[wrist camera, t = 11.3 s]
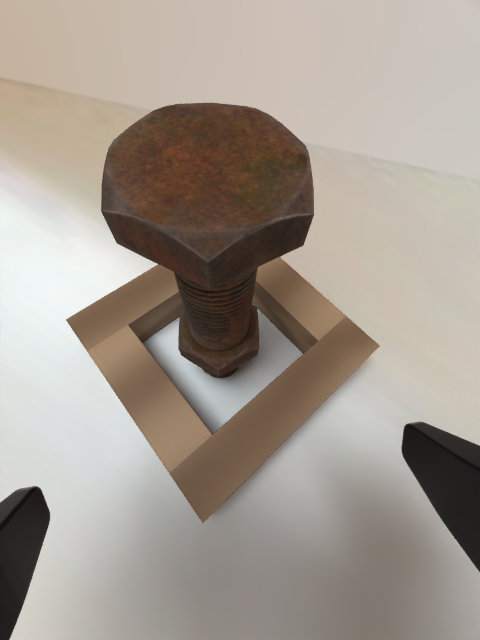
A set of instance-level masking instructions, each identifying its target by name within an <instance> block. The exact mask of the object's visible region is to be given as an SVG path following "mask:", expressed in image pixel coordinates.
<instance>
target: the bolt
mask: <svg viewBox="0 0 480 640" xmlns="http://www.w3.org/2000/svg"><path fill="white" fill-rule="evenodd" d="M101 212H102V214H103V216H104V218H105V220H106V222H107V224H108V226H109V228H110V230H111V232H112V234H113V236H114V238H115V240H116V242H117V244H119V245H121V246H123V247H125V248H127V249H129V250H131V251H133V252H135V253H137V254H139V255H141V256H143V257H145V258H147V259H149V260H151V261H153V262H155V263H157V264H159V265H161V266H163V267H165V268H167V269H169V270H171V271H173V272H174V275H175V279H176V282H177V286H178V290H179V293H180V297H181V299H182V304H183V307H182V309H181V314H180V322H179V351H180V353H181V355H182V356H183V357H185V358H186V359H188V360H189V361H191V362H192V363H194V364H196V365H197V366H199V367H201V368H202V369H203V370H204V371H205V372H206V373H209V374H210V375H211V376H213V377H218V378H224V377H228V376H230V375H231V374H233V373H234V372H235V371H236V370H237V369H238V368H239V366H241V365H242V364H244V363H246V362H247V361H249V360H250V359H252V358H253V357H254V356H256V355H257V353H258V349H259V326H258V313H257V307H255V306H254V305H253V304H252V299H253V295H254V289H255V283H256V276H257V270H258V267H259V266H261V265H263V264H265V263H268V262H270V261H272V260H274V259H276V258H278V257H280V256H282V255H284V254H286V253H288V252H290V251H293V250H295V249H297V248H299V247H301V246H303V245H304V242H305V239H306V236H307V233H308V230H309V227H310V225H311V222H312V219H313V216H314V188H313V179H312V171H311V164H310V158H309V153H308V150H307V148H306V146H305V145H304V144H303V143H302V142H301V141H300V140H299V139H298V138H297V137H296V136H295V135H294V134H293V133H292V132H291V131H289V130H288V129H287V128H286V127H285V126H284V125H283V124H282V123H280V122H279V121H277V120H276V119H274V118H273V117H272V116H270V115H269V114H267V113H264V112H262V111H260V110H258V109H256V108H251V107H247V106H238V105H228V104H218V103H195V104H194V103H193V104H175V105H170V106H165V107H162V108H159V109H157V110H154V111H152V112H151V113H149V114H148V115H146V116H144V117H143V118H141V119H140V120H138V121H137V122H136V123H134V124H133V125H131V126H130V127H129V128H128V129H126V130H125V131H124V132H123V133H122V134H121V135H119V136H118V137H117V138H116V139H115V140H114V141H113V142H112V144H111V145H110V147H109V149H108V152H107V156H106V160H105V165H104V172H103V179H102V201H101Z"/></svg>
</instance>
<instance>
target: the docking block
mask: <svg viewBox="0 0 480 640" xmlns="http://www.w3.org/2000/svg"><path fill="white" fill-rule="evenodd" d="M252 303H253V304H254V305H255V306H256V307H257V308H258V309H259V310H260V311H261V312H262V313H263V314H264V315H265V316H266V317H267V318H268V319H269V320H270V321H271V322H272V323H273V324H274V325H275V326H276V327H277V328H278V329H279V330H280V331H281V332H282V333H283V334H284V335H285V336H286V337H287V338H288V339H289V340H290V341H291V342H292V343H293V344H294V345H295V346H296V347H297V348H298V349H299V350H300V351H301V352H302V353H303V355H302V356H301V357H300V358H299V359H297V360H296V361H295V362H294V363H293V364H292V365H291V366H289V367H288V368H287V369H286V370H285V371H284V372H283V373H282V374H280V375H279V376H278V377H277V378H276V379H275V380H274V381H273V382H271V383H270V384H269V385H268V386H267V387H266V388H265V389H264V390H262V391H261V392H260V393H259V394H258V395H257V396H256V397H255V398H253V399H252V400H251V401H250V402H249V403H248V404H247V405H246V406H244V407H243V408H242V409H241V410H240V411H239V412H238V413H237V414H235V415H234V416H233V417H232V418H231V419H230V420H229V421H228V422H226V423H225V424H224V425H223V426H222V427H221V428H220V429H219V430H217V431H216V432H215V433H214V434H213V435H212V434H211V433H210V431H209V430H208V429H207V427H206V426H205V425H204V424H203V422H202V421H201V420H200V418H199V417H198V416H197V414H196V413H195V412H194V410H193V409H192V408H191V407H190V405H189V404H188V403H187V401H186V400H185V399H184V397H183V396H182V395H181V394H180V392H179V391H178V390H177V388H176V387H175V386H174V384H173V383H172V382H171V380H170V379H169V378H168V377H167V375H166V374H165V373H164V371H163V370H162V369H161V367H160V366H159V365H158V363H157V362H156V361H155V360H154V358H153V357H152V356H151V354H150V353H149V352H148V350H147V349H146V348H145V347H144V345H143V344H142V343H141V342H143V341H144V340H146V339H147V338H149V337H150V336H152V335H153V334H155V333H156V332H157V331H159V330H160V329H162V328H163V327H165V326H166V325H168V324H169V323H171V322H172V321H173V320H175V319H176V318H178V317H179V316H180V314H181V309H182V307H183V304H182V299H181V297H180V293H179V290H178V286H177V282H176V279H175V275H174V272H173V271H171V270H169V269H167V268H165V267H163V266H161V265H159V264H158V265H157V266H155V267H153V268H152V269H150V270H148V271H147V272H145V273H143V274H142V275H140V276H138V277H137V278H135V279H133V280H132V281H130V282H128V283H127V284H125V285H123V286H121V287H120V288H118V289H116V290H115V291H113V292H111V293H110V294H108V295H106V296H105V297H103V298H101V299H100V300H98V301H96V302H95V303H93V304H91V305H90V306H88V307H86V308H85V309H83V310H81V311H80V312H78V313H76V314H75V315H73V316H71V317H70V318H68V319H66V321H67V322H68V323H69V325H70V326H71V328H72V329H73V331H74V332H75V334H76V335H77V337H78V338H79V340H80V341H81V343H82V344H83V346H84V347H85V349H86V350H87V352H88V353H89V355H90V356H91V358H92V359H93V361H94V362H95V364H96V365H97V367H98V368H99V370H100V371H101V373H102V374H103V376H104V377H105V378H106V380H107V381H108V383H109V384H110V386H111V387H112V389H113V390H114V392H115V393H116V395H117V396H118V398H119V399H120V401H121V402H122V404H123V405H124V407H125V408H126V410H127V411H128V413H129V414H130V416H131V417H132V419H133V420H134V422H135V423H136V425H137V426H138V428H139V429H140V430H141V432H142V433H143V435H144V436H145V438H146V439H147V441H148V442H149V444H150V445H151V447H152V448H153V450H154V451H155V453H156V454H157V456H158V457H159V459H160V460H161V462H162V463H163V465H164V466H165V468H166V469H167V471H168V472H169V474H170V475H171V477H172V478H173V480H174V481H175V483H176V484H177V485H178V487H179V488H180V490H181V491H182V493H183V494H184V496H185V497H186V499H187V500H188V502H189V503H190V505H191V506H192V508H193V509H194V511H195V512H196V514H197V515H198V517H199V518H200V520H201V521H202V523H203V522H204V521H205V520H206V519H207V518H208V517H209V516H210V515H211V514H212V513H213V512H214V511H215V510H216V509H217V508H218V507H219V506H220V505H221V504H222V503H223V502H224V501H225V500H226V499H227V498H228V497H229V496H230V495H231V494H232V493H233V492H234V491H235V490H236V489H237V488H238V487H239V486H240V485H241V484H242V483H243V482H244V481H245V480H246V479H247V478H248V477H249V476H250V475H251V474H252V473H253V472H254V471H255V470H256V469H257V468H258V467H259V466H260V465H261V464H262V463H263V462H264V461H265V460H266V459H267V458H268V457H269V456H270V455H271V454H272V453H273V452H274V451H275V450H276V449H277V448H278V447H279V446H280V445H281V444H282V443H283V442H284V441H285V440H286V439H287V438H288V437H289V436H290V435H291V434H292V433H293V432H294V431H295V430H296V429H297V428H298V427H299V426H300V425H301V424H302V423H303V422H304V421H305V420H306V419H307V418H308V417H309V416H310V415H311V414H312V413H313V412H314V411H315V410H316V409H317V408H318V407H319V406H320V405H321V404H322V403H323V402H324V401H325V400H326V399H327V398H328V397H329V396H330V395H331V394H332V393H333V392H334V391H335V390H336V389H337V388H338V387H339V386H340V385H341V384H342V383H343V382H344V381H345V380H346V379H347V378H348V377H349V376H350V375H351V374H352V373H353V372H354V371H355V370H356V369H357V368H358V367H359V366H360V365H361V364H362V363H363V362H364V361H365V360H366V359H367V358H368V357H369V356H370V355H371V354H372V353H373V352H374V351H375V350H376V349H377V348H378V347H379V345H378V344H377V343H376V342H375V341H374V340H373V339H372V338H370V337H369V336H368V335H367V334H366V333H365V332H364V331H362V330H361V329H360V328H359V327H358V326H357V325H356V324H355V323H353V322H352V321H351V320H350V319H349V318H348V317H347V316H346V315H344V314H343V313H342V312H341V311H340V310H339V309H338V308H336V307H335V306H334V305H333V304H332V303H331V302H330V301H329V300H327V299H326V298H325V297H324V296H323V295H322V294H321V293H320V292H318V291H317V290H316V289H315V288H314V287H313V286H312V285H311V284H309V283H308V282H307V281H306V280H305V279H304V278H303V277H301V276H300V275H299V274H298V273H297V272H296V271H295V270H294V269H292V268H291V267H290V266H289V265H288V264H287V263H286V262H285V261H283V260H282V259H281V258H280V257H278V258H276V259H274V260H272V261H270V262H268V263H265V264H263V265H261V266H259V267H258V270H257V276H256V283H255V289H254V295H253V299H252Z"/></svg>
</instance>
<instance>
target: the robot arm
mask: <svg viewBox="0 0 480 640" xmlns="http://www.w3.org/2000/svg"><path fill="white" fill-rule="evenodd" d="M402 454H403V457H404V459H405V461H406V463H407V464H408V466H409V468H410V469H411V471H412V472H413V474H414V476H415V477H416V479H417V481H418V482H419V484H420V486H421V487H422V489H423V490H424V492H425V494H426V495H427V497H428V499H429V500H430V502H431V504H432V505H433V507H434V508H435V510H436V512H437V513H438V515H439V516H440V518H441V519H442V521H443V522H444V524H445V525H446V526H447V528H448V529H449V531H450V532H451V533H452V535H453V536H454V538H455V539H456V540H457V542H458V543H459V544H460V546H461V547H462V549H463V550H464V551H465V553H466V554H467V555H468V557H469V558H470V559H471V561H472V562H473V564H474V565H475V566H476V568H477V569H478V570H479V572H480V446H479V445H476V444H474V443H472V442H469V441H467V440H464V439H462V438H460V437H457V436H455V435H452V434H450V433H448V432H445V431H443V430H441V429H438V428H436V427H433V426H431V425H429V424H426V423H424V422H415V423H409V424H406V425H405V427H404V432H403V441H402ZM49 521H50V512H49V509H48V506H47V503H46V501H45V498H44V496H43V493H42V490H41V489H40V488H39V487H37V486H33V487H27V488H21V489H18V490H16V491H15V492H13V493H12V494H11V495H10V496H8V497H7V498H6V499H4V500H3V501H2V502H1V503H0V640H9V639H10V637H11V634H12V632H13V629H14V627H15V625H16V622H17V619H18V617H19V614H20V612H21V609H22V607H23V604H24V601H25V598H26V595H27V592H28V589H29V586H30V583H31V579H32V576H33V573H34V570H35V567H36V564H37V560H38V557H39V554H40V551H41V548H42V545H43V541H44V538H45V535H46V532H47V529H48V526H49Z"/></svg>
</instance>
